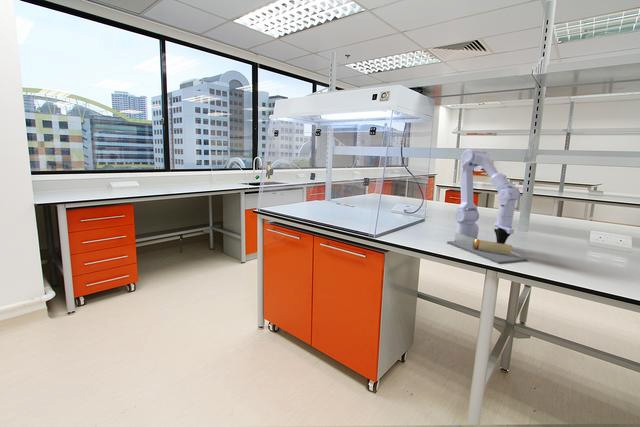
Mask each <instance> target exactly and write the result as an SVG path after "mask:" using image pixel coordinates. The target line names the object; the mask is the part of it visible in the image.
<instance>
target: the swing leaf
mask: <svg viewBox="0 0 640 427" xmlns="http://www.w3.org/2000/svg"><path fill="white" fill-rule="evenodd" d="M478 247H479V248H478ZM512 247H513V245H512V244H508V243H505V244H502V243H497V241H496V242H494V241H489V240H483V239H478V238H477V239H475V242H474V249H480V250H486V251H491V252H497V253H503V254H508V255H510V254H511V253H512Z"/></svg>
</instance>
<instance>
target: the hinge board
mask: <svg viewBox="0 0 640 427" xmlns="http://www.w3.org/2000/svg"><path fill="white" fill-rule="evenodd" d="M446 244H448V245H451V246H453V247H456V248H459V249H460V250H464V251H466V252H469V253H471V254H473V255H476V256H478V257H481V258H483V259H487V260H488V261H491V262H494V263H497V264H509V263H517V262H518V263H519V262H528V260H529V259H528V258H526V257H523V256H521V255H518V254H515V253H512V252H511V254H510V255H508V254H503V253H497V252H491V251H486V250H480V249H474V248H473V249H472V248H470V247H467V246H465V245H462V244H459V243H457V242H455V240H451V241H446ZM478 248H479V247H478Z"/></svg>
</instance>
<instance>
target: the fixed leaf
mask: <svg viewBox="0 0 640 427" xmlns="http://www.w3.org/2000/svg"><path fill="white" fill-rule="evenodd" d="M454 237H455V239H454V241H455V242H457V243H459V244H462V245H465V246H467V247H470V248H472V249H473V248H474V242H475V238H472V237H469V236H466V235H463V234H460V233H457V232H455V236H454Z"/></svg>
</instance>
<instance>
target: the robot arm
mask: <svg viewBox="0 0 640 427" xmlns="http://www.w3.org/2000/svg"><path fill="white" fill-rule="evenodd" d="M459 166H460V167H459V170H460V171H459V173H460V174H459V176H460V178H459V179H460V180H459V182H460V204H459V205H458V206H456V212H455V219H456V221H457V222H456V223H457V226H456V227H457V228H456V233H460V234H463V235H466V236H469V237H472V238H475V239H478V236H479V225H478V224H477V223H476V222H478V221H479V219H480V213H479V210H478V205H476V204H475V203H474V179H473V178H474V176H473V174H474V172H473V171H474V170H475V169H476V168H477V167H479V166H481V168H482V169H483V170H484V171H485V172H486V174H487V175H488V176H489V177H490V183H491V184H492V186H493V187H494V189H495V190H496V191H497V198H498V203H499V205H498V211H497V218H496V221H493V222H494V223H493V224H492V225H493V227H496V228H493V230H494V234H495V237H496V238H495V239H496V243H502V244H506V242H507V240H508V238H509V237H510V236H511V235H514V232H515V229H514V228H513V226H512V225H513V219H514V213H515V207H516V202H517V201H518V200H519V198H520V197H521V191H520V190H519V188H518V187H515V186H514V185H513V183H511V182H510V181H509V180H508V179H507V176H506V174H504V173H501V172H499V171H498V170H497V168H496V167H495V165H494V164H493V162H492V161H491V159H490V155H489V154H488V152H487V151H486V150H484V149H472V148H468V149H467V148H466V149H465V150H464V152H463V153H462V154H461V163H460V165H459ZM451 239H453V240H455V236H454V237H451Z"/></svg>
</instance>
